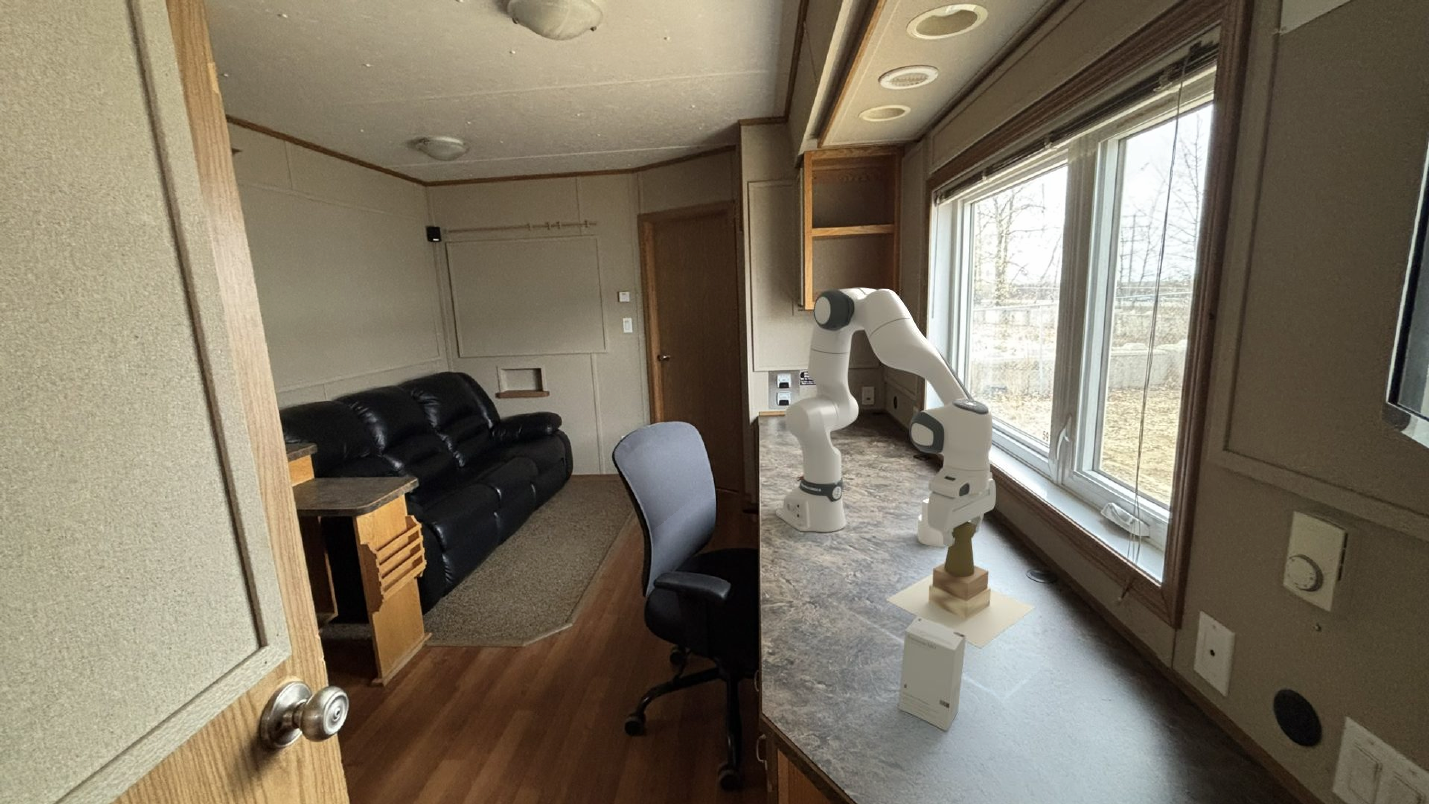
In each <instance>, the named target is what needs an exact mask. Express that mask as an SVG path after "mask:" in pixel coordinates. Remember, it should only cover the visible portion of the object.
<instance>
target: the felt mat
mask: <svg viewBox="0 0 1429 804" xmlns="http://www.w3.org/2000/svg"><path fill="white" fill-rule="evenodd" d="M931 584H933V573H931V574H930V575H928V576H926V577H924V578H923V579H921V580H919V581H916V582H915V583H913V584H912V585H910V586H908V587H906V588H904V589H902V590H901V591H899V592H897V593H895V594H893V595H892V596H891V595H890V597H887V598H886V599H885V601H887V602H888V603H891V604H893V605H894V606H896V607H898V608H900V609H903V610H904V611H906V612H908V613H911V615H912V614H913V615H914V616H918V617H921V618H924V619H927V620H929V621H932V622H936V623H940V624H942V625H944V626H946V627H948V628H950V629H953V630H956V631H958V632H961V633H963V634H966V640H965V642H967V643H969V644H970V645H972V646H975V647H977V648H979V649H982V648H983V647H984V646H986V645H987V644H989V643H990V642H991V641H993V640H994V639H995V638H996V637H998V636H1000V634H1002V633H1004V632H1005V631H1006V630H1007V629H1008V628H1010V627H1011V626H1013V625H1014V624H1015V623H1017V622H1018V621H1020V620H1021V619H1022V618H1024V617H1025V616H1027V614H1029V613H1031V612H1032V611H1033V610H1034V609H1036V607H1035V606H1033V605H1030V604H1028V603H1025V602H1024V601H1021V600H1018V599H1016V598H1013V597H1011V596H1009V595H1006V594H1004V593H1002V592H999V591H997V590H995V589H992V588H991V595H990V605H989V606H988V607H986V608H985V609H983V610H982V611H980V612H979V613H977V614H976V615H974V616H973V617H971V618H970V619H968V620H965V619H963V618H961V617H959V616H957V615H955V614H953V613H950V612H948V611H946V610H944V609H942V608H940V607H938V606H936V605H934V604H932V603H930V602H928V601H929V585H931Z"/></svg>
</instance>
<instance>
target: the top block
mask: <svg viewBox="0 0 1429 804" xmlns="http://www.w3.org/2000/svg"><path fill="white" fill-rule="evenodd" d="M944 566H945V562H944V563H941V564H939V565H938V566H936V567H934V568H933V569H932V570H933V571H932V574H933V586H935V587H937V588H939V589H941V590H943V591H946V592H948V593H950V594H952V595H955V596H957V597H959V598H961V599H963V600H966V601H968V600H970V599H971V598H973V597H974V596H976V595H978V594H979V593H981V592H982V591H984V590H985V589H987V587H988V586H989V573H990V572H989V570H987V569H984V568H981V567H979V566H976V565H974V574H973V575H971V576H964V577H962V576H956V575H953V574H950V573H949V572H947V571H946V570H945V569H944Z"/></svg>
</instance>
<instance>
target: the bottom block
mask: <svg viewBox="0 0 1429 804" xmlns="http://www.w3.org/2000/svg"><path fill="white" fill-rule="evenodd" d="M991 589H992V588H991V587H987V589H985V590H984V591H982V592H981V593H979V594H978V595H976V596H974V597H973V598H971V599H970V600H968V601H966V600H963V599H961V598H959V597H957V596H955V595H952V594H950V593H948V592H946V591H943V590H941V589H939V588H937V587H935V586H933V584H931V585H929V601H928V602H930V603H932V604H934V605H936V606H938V607H940V608H942V609H944V610H946V611H948V612H950V613H953V614H955V615H957V616H959V617H961V618H963V619H965V620H968V619H970V618H971V617H973V616H974V615H976V614H977V613H979V612H980V611H982V610H983V609H985V608H986V607H988V606H989V605H990V595H991Z"/></svg>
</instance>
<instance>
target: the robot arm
mask: <svg viewBox="0 0 1429 804" xmlns="http://www.w3.org/2000/svg"><path fill="white" fill-rule="evenodd" d="M813 305H814V306H813V317H814V319H815V320H814V321H815V322H814V327H813V329H812V330H813V331H812V334H811V340H810V344H809V345H810V347H809V356H808V364H807V375H808V377H809V378H810V379H811V380H812V381H813V382H814V383H815V387H816V395H815V396H812V397H807V398H802V399H800V400H797V401H796V402H794V403H792V404H791V405H789V406H788V407H787V409H786V410H785V413H784V424H785V426H786V429H787V431H789V433H790V434H791V435H792V436H793V437H795V438H796V440H797V441H798V443H799V445H800V449H801V451H802V464H803V465H802V466H803V467H802V468H803V473H802V476H798V477H796V479H797V480H796V481H797V482H799V486H797V487H796V488H795V489H793V490H791V491H790V492H789V493H787V494H786V495H785V496H784V498H783V502H782V503H783V504H782V506H781V507H779V508H778V509H776V511H775V515H776V516H777V517H779V518H780V519H782V520H783V521H785V522H786V523H787V524H789V525H791V526H792V527H793V528H795V529H797V531H800V532H820V533H821V532H822V533H824V532H825V533H827V532H828V533H829V532H835V531H838V530H841V529H843V528H845V527H846V526H847V523H848V522H847V518H846V512H845V509H844V508H845V507H844V502H843V490H844V489H843V488H844V482H843V480H844V479H843V477H842V453H841V450H839V449H838V448H837V447H836V446H835V445H833V443H832V438H831V432H835V431H837V430H841V429H844V428H846V427H848V426H849V425H850V424H852V423H853V422H855V421H856V420H857V418H858V415H859V405H858V402H857V400H856V398H855V397H854V396H853V395H852V394H851V392H850V391H851V390H850V388H849V387H850V386H849V382H848V381H849V380H848V379H849V378H848V372H849V366H850V365H849V364H850V363H849V362H850V355H851V349H852V348H851V346H852V338H853V334H854V333H856V332H857V331H864V332H865V334H866V337H867V340H868V341H869V344H870V347H871V348H872V351H873V353H874V354H875V357H877V358H878V360H879V361H880V362H881V363H882V364H884V365H886V366H887V367H890V368H893V369H897V370H900V371H906V372H908V373H912V374H915V375H918V376H920V377H921V378H923V379H924V380H926V382H928V383H929V384H930V385H931V387H932V389H933V390H934V392H935V393H936V396H937V397H938V398H939V400H940V401H941V402H942V404H943V405H942V406H939V407H934V408H930V409H929V408H928V409H924V410H921V411H917V412H916V413H915V414H914V415H913V417H912V418H911V419H910V423H909V427H908V428H909V429H908V432H909V437H910V441H911V443H912V444H913V445H914V447H916V449H918V450H919V451H920V452H923V453H928V454H940V455H942V456H943V465H942V467H941V468H940V469H939V471H938V472H937V473H936V475H935V476H933V477H932V478H930V480H929V482H928V491H931V492H930V494H929V497H928V498H929V501H928V524H929V526H930V527H931V528H932V529H935V530H937V531H940V532H941V533H942V536H943V544H944V545H946V547H947V548H948V547H950V546H952V545H954V544H955V542H954V541H955V537H952V533H951V532H953V528H955V527H957V526H959V525H961V524H963V523H965V522H967V521H968V522H970V523H972V524H973V526H974V529H975V534H977V533H979V532H980V526H981V523H982V521H983V518H984V514H985V513H987V512H990V511H993V510H994V508H995V505H996V495H997V494H996V482H995V481H996V480H995V479H993V472H991V462H990V458H989V456H990V455H989V454H990V451H991V449H992V445H993V444H992V443H993V418H992V417H993V416H992V413H991V410H990V407H989V406H988V405H986V404H985V403H983V402H982V401H979V400H975V399H974V398H973V396H971V394H970V393H969V391H968V390H967V388H966V386H965V385H964V384H963V381H961V379H960V378H959V377H960V376H959V375H957V372H956V371H955V370H954V369H953V367H952V365H951V364H950V363H949V361H948V360H947V358H946V357H945V356H944V354H943V353H942V352H941V351H940V350H939V349H938V348H937V347H935V346H934V345H932V343H931V342H930V341H929V340H928V339H927V338H926V337H925V336H924V335H923V334H922V332H921V331H920V330H919V328H918V327H917V324H916V323H915V322H914V319H913V317H912V314H911V313H910V312H909V310H908V308H907V306H906V305H905V304H904V302H903V301H902V300H901V299H900V296H899V295H898V294H896V292H895V291H893V290H891V289H888V288H876V287H875V288H867V287H852V288H841V289H837V288H832V289H829V290H824V291H822V292H821V293H820V294H819V295H818V296H817V298H816V299H815V302H814V304H813Z"/></svg>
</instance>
